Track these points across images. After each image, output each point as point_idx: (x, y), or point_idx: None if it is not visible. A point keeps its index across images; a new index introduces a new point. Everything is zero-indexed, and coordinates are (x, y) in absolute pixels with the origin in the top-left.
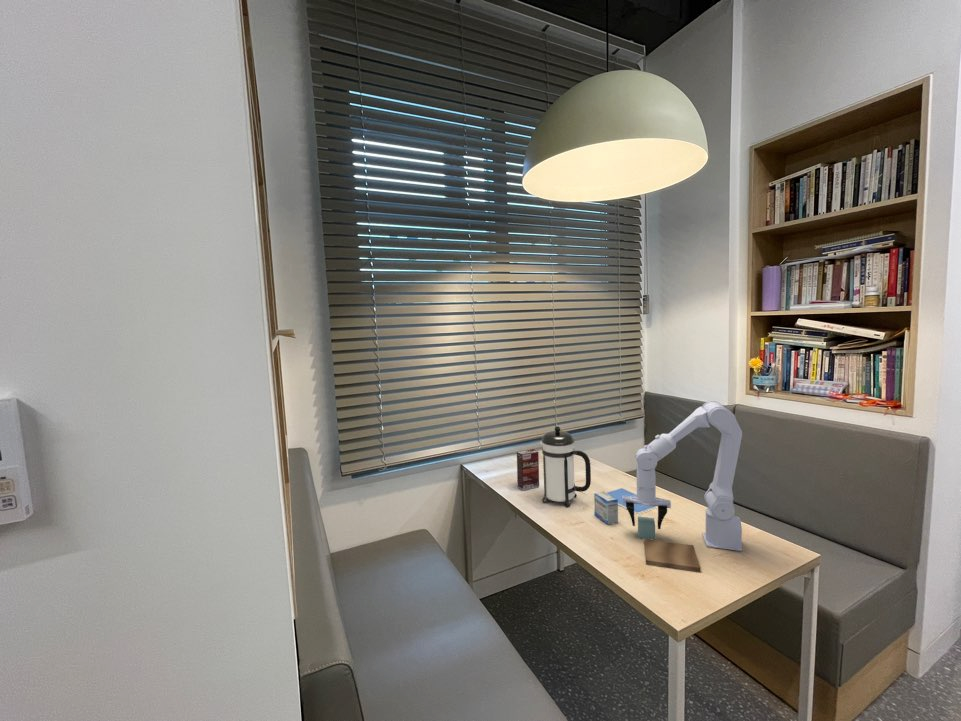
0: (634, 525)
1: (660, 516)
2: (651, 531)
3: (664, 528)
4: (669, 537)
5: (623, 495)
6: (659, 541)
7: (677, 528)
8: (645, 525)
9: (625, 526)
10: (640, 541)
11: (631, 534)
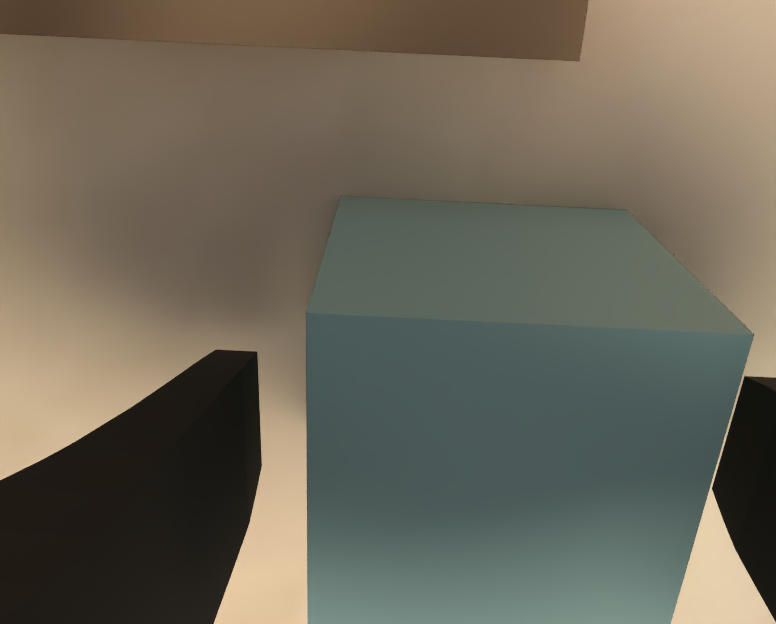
0: (761, 380)
1: (52, 524)
2: (405, 250)
3: None
4: (109, 328)
5: None
6: (266, 15)
7: None
8: (555, 312)
9: None
10: (620, 85)
11: (725, 303)
